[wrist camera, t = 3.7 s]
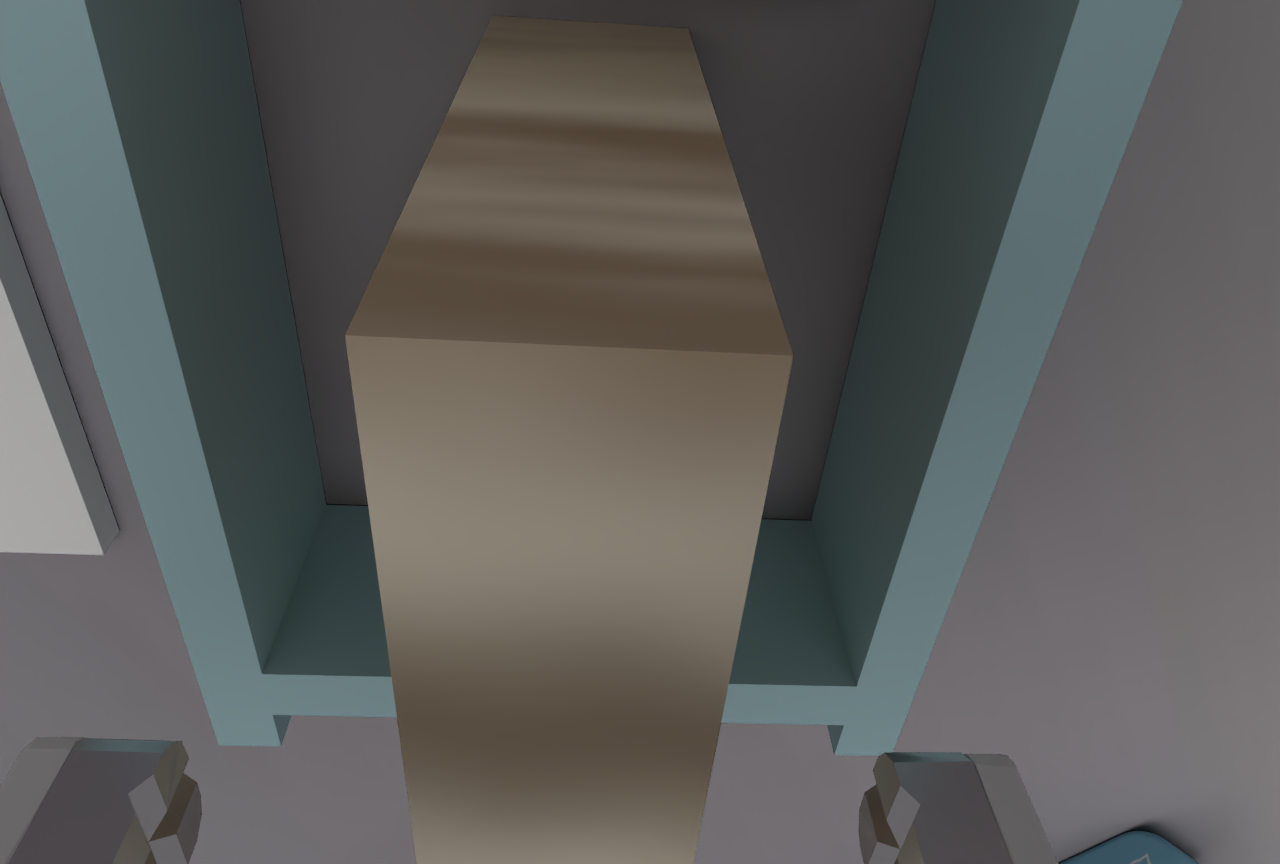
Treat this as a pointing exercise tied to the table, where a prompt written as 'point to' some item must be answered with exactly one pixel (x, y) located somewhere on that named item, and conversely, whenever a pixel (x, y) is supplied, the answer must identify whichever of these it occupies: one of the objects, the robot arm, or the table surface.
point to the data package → (1133, 851)
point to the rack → (341, 535)
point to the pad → (41, 432)
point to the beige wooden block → (567, 448)
